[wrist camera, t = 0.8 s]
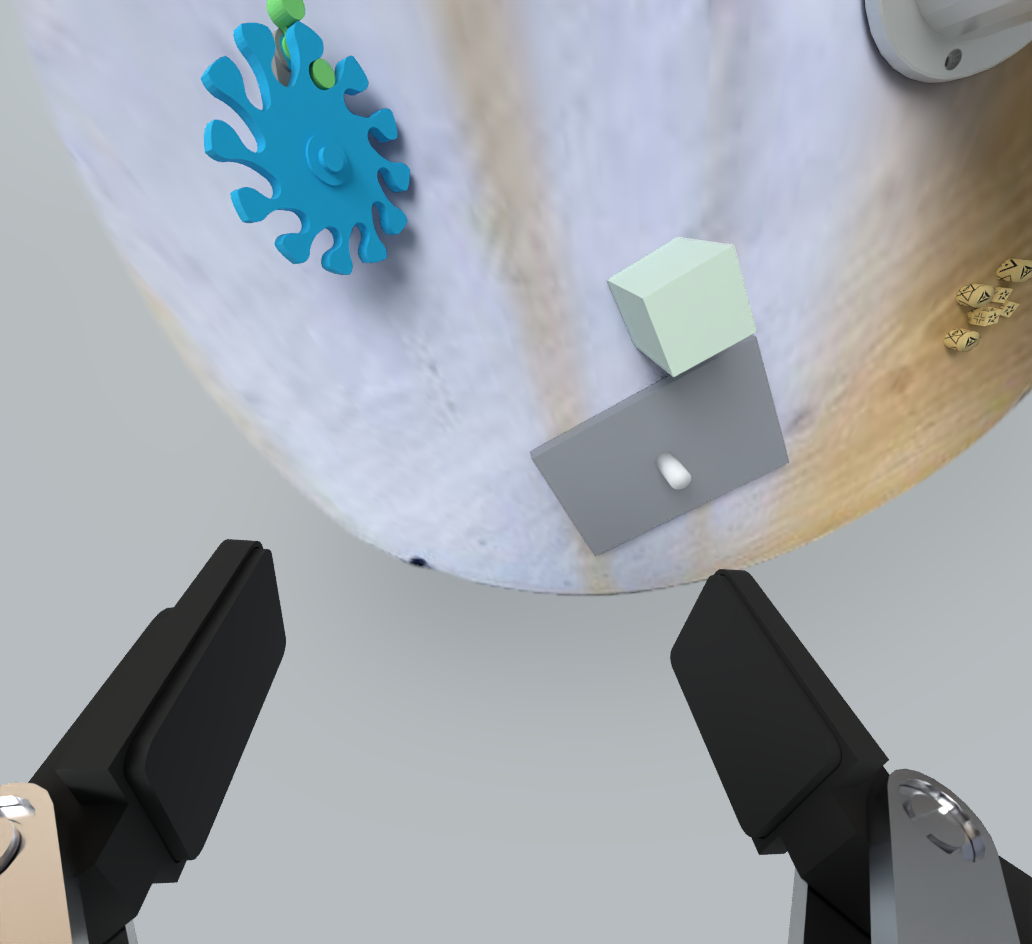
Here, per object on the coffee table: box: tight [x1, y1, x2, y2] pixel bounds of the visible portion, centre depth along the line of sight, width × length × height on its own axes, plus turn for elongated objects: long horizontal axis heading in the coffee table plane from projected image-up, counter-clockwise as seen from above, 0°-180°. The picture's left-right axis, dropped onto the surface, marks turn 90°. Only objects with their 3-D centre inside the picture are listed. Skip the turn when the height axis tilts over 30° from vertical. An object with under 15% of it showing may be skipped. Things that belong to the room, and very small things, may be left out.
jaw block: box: [607, 237, 757, 377], centre depth 27 cm, size 5×5×7 cm
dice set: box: [943, 258, 1032, 352], centre depth 32 cm, size 5×5×2 cm
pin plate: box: [530, 335, 789, 556], centre depth 35 cm, size 18×12×4 cm, turn 120°
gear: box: [201, 0, 410, 275], centre depth 22 cm, size 11×6×10 cm
